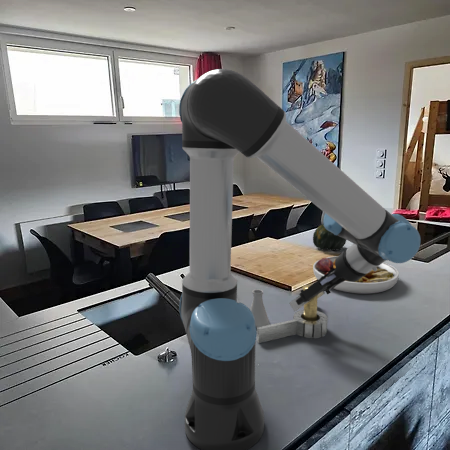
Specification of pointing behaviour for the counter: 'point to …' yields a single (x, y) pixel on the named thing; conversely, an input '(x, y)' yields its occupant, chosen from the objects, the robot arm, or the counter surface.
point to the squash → (327, 239)
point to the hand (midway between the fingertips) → (300, 303)
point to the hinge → (294, 328)
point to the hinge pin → (310, 307)
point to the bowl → (365, 285)
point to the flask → (259, 309)
